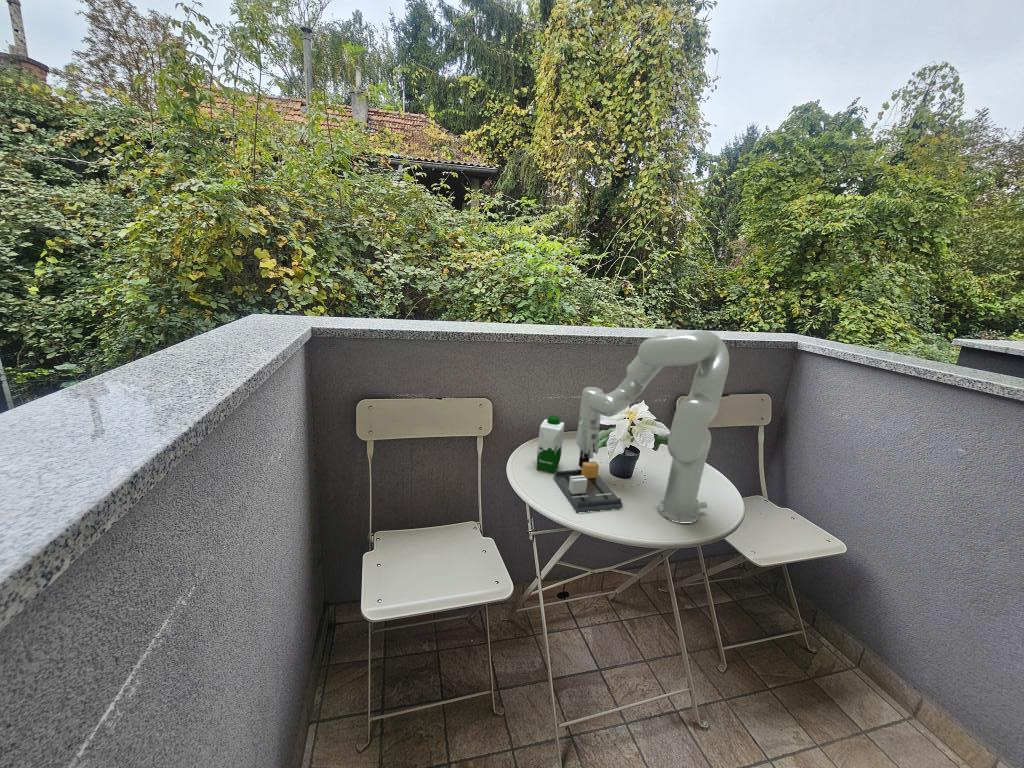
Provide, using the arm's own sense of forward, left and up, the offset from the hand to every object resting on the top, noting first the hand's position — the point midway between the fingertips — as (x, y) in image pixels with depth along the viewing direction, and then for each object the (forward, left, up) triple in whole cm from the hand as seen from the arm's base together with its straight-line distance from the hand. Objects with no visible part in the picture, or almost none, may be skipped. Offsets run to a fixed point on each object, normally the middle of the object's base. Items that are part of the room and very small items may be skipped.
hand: (583, 466), depth 165 cm
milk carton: (+12, -7, -4) cm, 14 cm away
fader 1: (+9, +14, -1) cm, 17 cm away
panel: (+4, +12, -3) cm, 14 cm away
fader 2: (0, +5, -1) cm, 6 cm away
